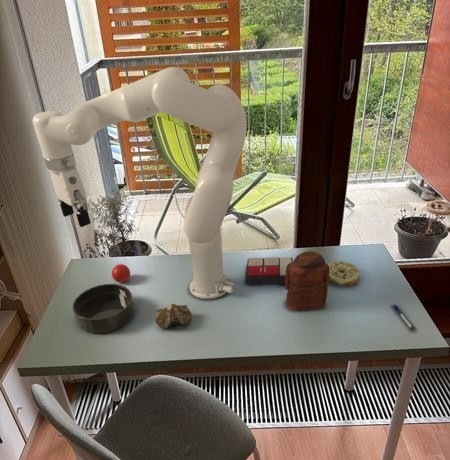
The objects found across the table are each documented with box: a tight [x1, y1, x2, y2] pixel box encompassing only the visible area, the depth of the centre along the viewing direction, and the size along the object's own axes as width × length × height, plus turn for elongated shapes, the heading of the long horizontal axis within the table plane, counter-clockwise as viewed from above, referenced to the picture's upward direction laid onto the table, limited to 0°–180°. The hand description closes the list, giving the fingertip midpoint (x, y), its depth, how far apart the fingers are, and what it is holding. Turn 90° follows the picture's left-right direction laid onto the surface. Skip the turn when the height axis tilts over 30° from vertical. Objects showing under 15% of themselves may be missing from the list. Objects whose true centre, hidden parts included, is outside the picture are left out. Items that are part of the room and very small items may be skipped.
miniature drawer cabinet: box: [245, 256, 294, 286], centre depth 141 cm, size 11×4×15 cm
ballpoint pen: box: [393, 304, 414, 330], centre depth 122 cm, size 10×1×1 cm, turn 11°
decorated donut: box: [327, 260, 361, 287], centre depth 138 cm, size 10×11×4 cm
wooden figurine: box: [284, 250, 330, 312], centre depth 124 cm, size 12×6×18 cm, turn 97°
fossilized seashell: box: [154, 303, 193, 329], centre depth 124 cm, size 8×7×10 cm
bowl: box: [72, 283, 136, 334], centre depth 128 cm, size 17×17×6 cm
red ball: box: [111, 263, 131, 283], centre depth 143 cm, size 6×6×6 cm
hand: (76, 219), depth 125 cm, fingers open, 9 cm apart
